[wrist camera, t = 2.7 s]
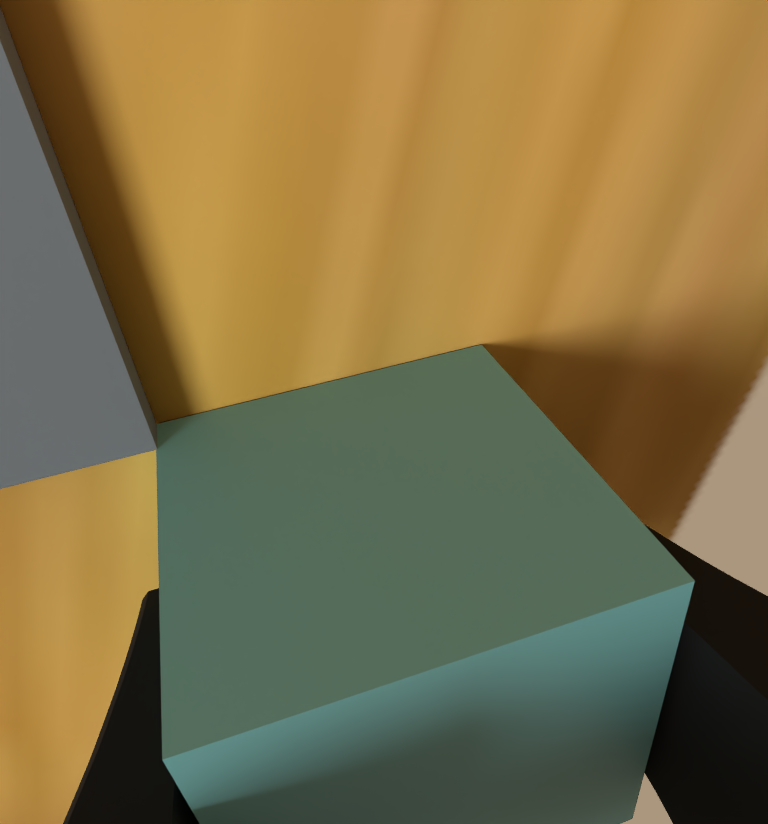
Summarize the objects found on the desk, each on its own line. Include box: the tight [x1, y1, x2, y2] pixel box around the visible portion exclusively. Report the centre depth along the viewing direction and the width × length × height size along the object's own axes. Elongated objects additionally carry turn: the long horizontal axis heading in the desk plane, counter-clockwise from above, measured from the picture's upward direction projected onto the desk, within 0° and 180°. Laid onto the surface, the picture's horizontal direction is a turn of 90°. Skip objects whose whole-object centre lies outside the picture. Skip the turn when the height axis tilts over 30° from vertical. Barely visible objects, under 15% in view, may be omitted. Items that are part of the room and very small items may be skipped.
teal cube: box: [156, 345, 695, 824], centre depth 9 cm, size 5×5×5 cm
